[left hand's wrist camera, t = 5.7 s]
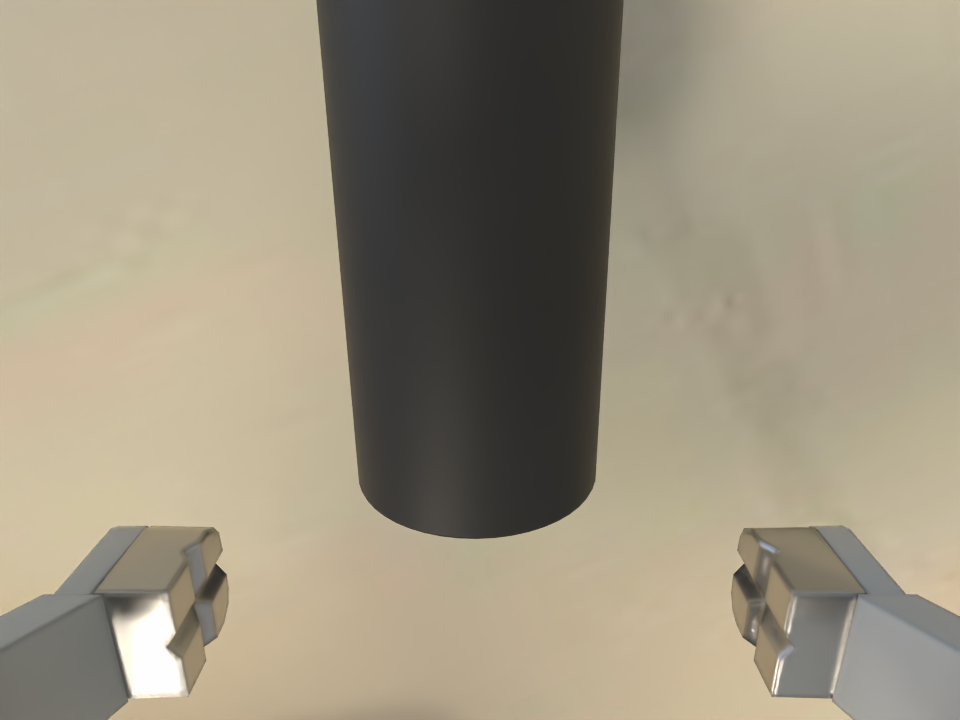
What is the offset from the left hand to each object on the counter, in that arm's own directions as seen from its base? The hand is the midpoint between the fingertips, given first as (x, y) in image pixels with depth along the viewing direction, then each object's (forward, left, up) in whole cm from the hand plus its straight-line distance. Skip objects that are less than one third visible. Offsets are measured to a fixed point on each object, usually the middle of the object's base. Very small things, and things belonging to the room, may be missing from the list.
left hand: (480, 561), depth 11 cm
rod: (+9, 0, -10) cm, 13 cm away
